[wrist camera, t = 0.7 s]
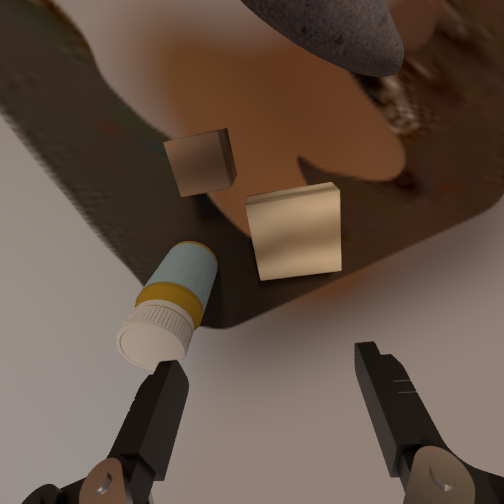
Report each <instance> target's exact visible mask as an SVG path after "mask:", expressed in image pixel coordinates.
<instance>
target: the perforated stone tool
mask: <svg viewBox="0 0 504 504" xmlns="http://www.w3.org/2000/svg"><path fill="white" fill-rule="evenodd" d="M241 1H242V2H243V3H244V4H245V5H246V6H247V7H248V8H249V9H250V10H251V11H253V12H254V13H255V14H256V15H257V16H258V17H259V18H261V19H262V20H263V21H264V22H266V23H267V24H268V25H270V26H271V27H272V28H273V29H275V30H277V31H278V32H279V33H281V34H282V35H283V36H285V37H286V38H288V39H289V40H291V41H292V42H294V43H295V44H297V45H298V46H300V47H302V48H304V49H305V50H307V51H309V52H310V53H312V54H314V55H316V56H318V57H320V58H322V59H324V60H326V61H328V62H330V63H332V64H335V65H337V66H340V67H341V68H344V69H346V70H348V71H351V72H354V73H357V74H362V75H367V76H373V77H385V76H390V75H394V74H395V73H397V72H399V71H400V69H401V64H402V61H403V56H404V47H403V43H402V41H401V38H400V36H399V33H398V31H397V29H396V27H395V25H394V23H393V20H392V17H391V14H390V11H389V9H388V7H387V6H386V4H385V3H384V1H383V0H241Z"/></svg>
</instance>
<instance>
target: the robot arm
mask: <svg viewBox="0 0 504 504" xmlns="http://www.w3.org/2000/svg"><path fill="white" fill-rule="evenodd" d="M355 371H356V376H357V379H358V382H359V385H360V388H361V391H362V394H363V397H364V400H365V403H366V406H367V409H368V412H369V415H370V418H371V421H372V424H373V427H374V430H375V433H376V436H377V438H378V442H379V444H380V447H381V450H382V453H383V456H384V459H385V462H386V465H387V468H388V471H389V474H390V477H400V480H401V483H402V485H403V488H404V491H405V497H404V501H403V504H504V477H501V476H498V475H495V474H491V473H488V472H485V471H482V470H479V469H477V468H474V467H472V466H470V465H468V464H467V463H465V462H464V461H462V460H461V459H460V458H458V457H457V456H456V455H455V454H454V453H453V452H452V451H451V450H450V449H449V448H448V447H447V445H446V444H445V443H444V441H443V440H442V438H441V436H440V434H439V432H438V430H437V429H436V427H435V425H434V423H433V421H432V420H431V417H430V416H429V414H428V412H427V410H426V408H425V406H424V404H423V402H422V400H421V399H420V397H419V395H418V393H417V392H416V389H415V388H414V385H413V384H412V382H411V381H410V378H409V376H408V374H407V372H406V371H405V369H404V367H403V365H402V364H401V363H400V362H399V361H398V360H397V359H396V358H395V357H393V356H392V355H391V354H387V355H381V354H380V352H379V350H378V348H377V346H376V344H375V343H374V342H373V341H372V342H361V343H355ZM188 390H189V382H188V379H187V376H186V375H185V373H184V371H183V369H182V367H181V365H180V363H179V362H178V360H168V361H160V362H159V363H158V365H157V367H156V369H155V372H154V374H153V375H149V376H148V377H147V378H146V379H145V381H144V382H143V383H142V384H141V386H140V388H139V390H138V392H137V394H136V396H135V400H134V401H133V403H132V405H131V407H130V411H129V412H128V414H127V416H126V418H125V420H124V423H123V425H122V427H121V429H120V431H119V433H118V436H117V438H116V440H115V442H114V445H113V447H112V449H111V451H110V453H109V455H108V456H107V458H106V459H105V460H103V461H101V462H100V463H99V464H97V465H96V466H95V467H94V468H93V469H92V470H91V472H90V473H89V474H88V476H87V477H85V478H83V479H81V480H79V481H77V482H74V483H72V484H70V485H68V486H65V487H63V488H61V489H59V488H57V487H56V486H55V485H53V484H46V485H43V486H41V487H39V488H38V489H36V490H35V491H34V492H32V493H31V494H30V495H29V496H28V497H27V498H26V499H25V500H24V501H23V502H22V504H154V502H153V498H152V494H151V488H152V485H153V481H164V479H165V475H166V471H167V467H168V464H169V460H170V456H171V453H172V450H173V446H174V442H175V438H176V435H177V431H178V428H179V424H180V420H181V417H182V413H183V410H184V406H185V402H186V399H187V395H188Z"/></svg>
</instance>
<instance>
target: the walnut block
mask: <svg viewBox="0 0 504 504" xmlns="http://www.w3.org/2000/svg"><path fill="white" fill-rule="evenodd" d="M163 143H164V146H165V149H166V152H167V155H168V158H169V161H170V164H171V167H172V170H173V173H174V176H175V179H176V183H177V186H178V189H179V192H180V195H181V197H184V196H190V195H195V194H201V193H206V192H212V191H218V190H223V189H229V188H231V186H232V184H233V182H234V180H235V178H236V176H237V173H236V168H235V163H234V159H233V154H232V149H231V144H230V140H229V135H228V130H227V128H225V129H221V130H216V131H211V132H207V133H202V134H197V135H192V136H188V137H183V138H179V139H175V140H171V141H167V142H163Z"/></svg>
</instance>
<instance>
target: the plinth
mask: <svg viewBox="0 0 504 504" xmlns="http://www.w3.org/2000/svg"><path fill="white" fill-rule="evenodd" d="M245 208H246V213H247V218H248V222H249V227H250V232H251V237H252V242H253V246H254V251H255V256H256V261H257V266H258V270H259V275H260V280H261V281H263V280H270V279H278V278H286V277H294V276H302V275H310V274H318V273H326V272H334V271H341V229H340V190H339V189H338V188H337V187H336V186H335V185H334V184H333V183H332V182H329V183H323V184H318V185H312V186H308V185H307V186H301V187H295V188H290V189H284V190H278V191H272V192H266V193H261V194H255V195H249V196H247V200H246V205H245Z"/></svg>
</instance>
